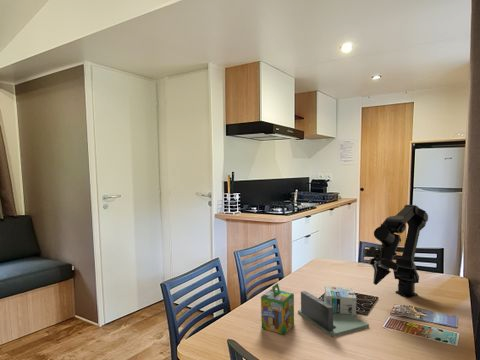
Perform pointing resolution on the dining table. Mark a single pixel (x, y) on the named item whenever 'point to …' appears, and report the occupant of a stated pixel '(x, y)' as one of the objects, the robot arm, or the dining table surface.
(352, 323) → the shelf board
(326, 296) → the light bulb box
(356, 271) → the dining table surface
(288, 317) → the chalk box
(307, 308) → the bookend
